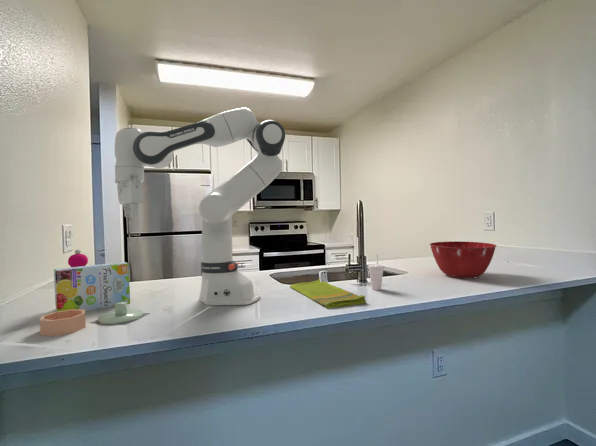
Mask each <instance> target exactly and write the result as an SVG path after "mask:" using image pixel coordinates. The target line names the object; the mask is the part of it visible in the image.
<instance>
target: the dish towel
mask: <svg viewBox="0 0 596 446" xmlns="http://www.w3.org/2000/svg"><path fill="white" fill-rule="evenodd" d="M320 279H321V278H318V280H313V281H310V282H309V281H307V282H306V281H305V282H298V283H293V284H291V285H289V288H291V289H292V290H294V291H295V292H298V293H299V292H300V293H299V294H301V295H303V296H305V297H306V298H308V299H309V300H311V299H312V300H311V301H313V302H315V303H317V304H319V305H320V306H322V307H324V308H326V309H333V307H334V308H335V309H336V308H342V307H349V306H356V305H357V306H358V305H363V304H367V302H366V296H365V294H364V295H362V294H361V295H358V294H355V293H353V292H350V291H348V290H345V289H344V288H341V287H338V286H335V285H333V284H330V283H328V282H326V281H324V282H320Z"/></svg>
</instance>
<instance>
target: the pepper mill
mask: <svg viewBox="0 0 596 446" xmlns="http://www.w3.org/2000/svg"><path fill="white" fill-rule="evenodd" d="M81 251H82V250H81V249H78V248H77V249H75V251H74V254H71V255H70V256H69V257H68V259H67V264H68V265H69V267H70V268H71V267H81V266H87V264H88V262H89V258H88V256H87V255H86V254H84V253H81Z"/></svg>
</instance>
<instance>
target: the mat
mask: <svg viewBox="0 0 596 446" xmlns="http://www.w3.org/2000/svg"><path fill="white" fill-rule="evenodd" d="M150 314H151V313H149V312H143V316H142V317H141V318H139V319H137V320H134V321H130V322H126V323H120V324H116V325H117V326H118V325H119V326H127V325H129V324H131V323H133V322H136V321H138V320H140V319H142V318H144V317H146V316H149V315H150ZM89 324H100V323H99V322H98V319H95V320H93V321H91V322H89Z"/></svg>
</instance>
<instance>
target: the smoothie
mask: <svg viewBox="0 0 596 446" xmlns="http://www.w3.org/2000/svg"><path fill="white" fill-rule="evenodd" d="M367 268H368V271H369V272H368V274H369V278H370V279H369V280H370V287H371V290H373V291H381V290H382V284H383V276H384V269H385V265H384V264H379V254H376V263H375V264H369V265H367Z"/></svg>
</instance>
